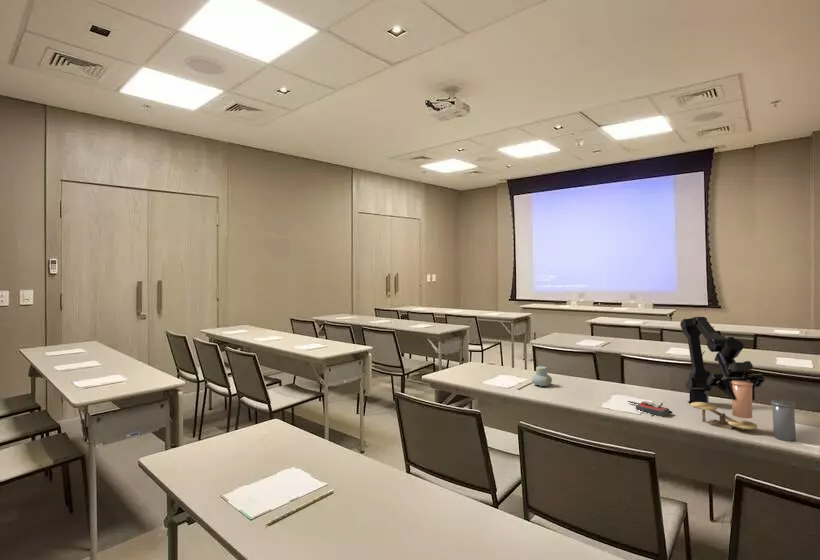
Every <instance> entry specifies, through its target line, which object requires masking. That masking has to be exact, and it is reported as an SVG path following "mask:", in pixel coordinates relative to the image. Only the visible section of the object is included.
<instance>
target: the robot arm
mask: <svg viewBox="0 0 820 560" xmlns="http://www.w3.org/2000/svg"><path fill="white" fill-rule="evenodd" d="M679 325H680V326H679V327H680V328H681V330H682V333H683V335H684V336H685V337H686V338H687V343H688V344H687V345H688V350H689V356H690V357H689V358H690V364H691V370H690V372H689V374H688V379H687V381H686V382H685V388H686V390H688V391H689V400H688V401H687V402H688V403H689V404H691V403H692V402H704V403H709V393H708V392H711V391H712V387H715V388H716V389H719V390H721V391H722V392H723V393H724V394H726V395H727V396H728V397H729V398H731V400H732V399H733V400H735V399H736V398H735V395H734V393H733V391H732V386H731V384H730V383H732V380H744V381H749V382H752V383H753V386H752V401H755V397H756V395H755V391H756V390H755V388H759V387H761V386H762V385H763V383H764V382H765V381H766V377H765V375H764V374H761V373H750V374H749V376H748V377H744V376H745V375H746V372H749V371H751V370H752V369H754V366H753V364H752V362H751V361H750V360H745V361H743V362H736V359H735V358H738V357H739V355H740V354H741V352H742V351H743V350H744V343H743V342H741V341H740V340H738V339H735V337H734V336H728V337H726V336H724V335H722V334H720V333H718V332H717V331H716V330H715V329H714V327H713V326H712V325H711V324H710V322H709V321H708V318H707V317H705V316H692V317H691V318H682V320H681V321H680V324H679ZM701 335H702V336H703V337H704V338H705V339H706V346H707V348H708V350H709V351H710V353H711V352H712V353H716V354H715V357H714V361H715V362H718V365H719V367H720V370H719V372H718V373H711V372H710V371H708V370H706V368H705V364H704V357H703V351H702V345H701V339H700V338H701V337H700V336H701Z"/></svg>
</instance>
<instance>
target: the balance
mask: <svg viewBox="0 0 820 560" xmlns="http://www.w3.org/2000/svg"><path fill="white" fill-rule="evenodd" d="M690 406H691V407H692V408H694V409H697V410H702V411H701V413H702V415H701V417H702V419H701V420H702V421H701V422H703V423H706V411H709V412H711V413H713V414H715V415H717V416H719V419H713V420H712V421H710V422H709V423H710V424H709V425H710V426H714V427H718V428H723V429H728V430H733V429H734V428H738V429H740V431H745V430H755V429H757V428H758V425H757V424H756V423H754V422H752V421H750V420H749V421H748V420H744V419H734V418H731V417H729V416H728V415H726V414H725V413H724V412H723V413H721V412H720V411H717V410H718V405H715V404H714V403H713V404H712V403H704V402H692V403H690ZM726 420H728V421H726Z"/></svg>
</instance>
